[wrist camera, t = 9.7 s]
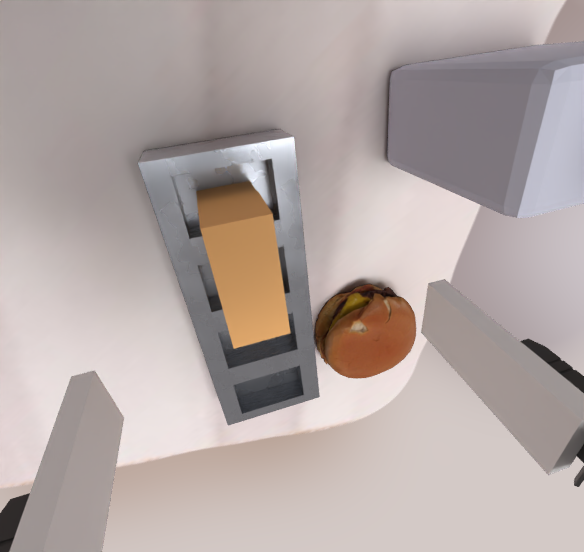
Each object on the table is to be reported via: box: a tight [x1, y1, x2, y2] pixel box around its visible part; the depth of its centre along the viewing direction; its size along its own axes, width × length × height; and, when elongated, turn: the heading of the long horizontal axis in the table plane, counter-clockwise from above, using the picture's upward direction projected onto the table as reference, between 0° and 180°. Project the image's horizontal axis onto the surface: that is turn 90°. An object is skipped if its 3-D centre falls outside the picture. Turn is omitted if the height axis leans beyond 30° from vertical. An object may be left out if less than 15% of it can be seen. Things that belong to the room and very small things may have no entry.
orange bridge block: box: [196, 181, 290, 349], centre depth 22 cm, size 8×4×7 cm, turn 7°
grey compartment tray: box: [138, 129, 319, 425], centre depth 27 cm, size 24×9×4 cm, turn 7°
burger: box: [315, 284, 416, 378], centre depth 33 cm, size 10×9×5 cm
